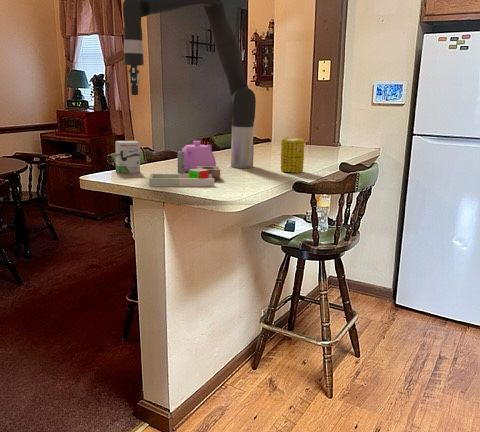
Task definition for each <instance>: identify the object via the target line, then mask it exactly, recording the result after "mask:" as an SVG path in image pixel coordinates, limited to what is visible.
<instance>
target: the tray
mask: <svg viewBox="0 0 480 432" xmlns="http://www.w3.org/2000/svg"><path fill="white" fill-rule="evenodd" d="M148 187H180V186H179V178H178V173H149V177H148Z"/></svg>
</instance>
